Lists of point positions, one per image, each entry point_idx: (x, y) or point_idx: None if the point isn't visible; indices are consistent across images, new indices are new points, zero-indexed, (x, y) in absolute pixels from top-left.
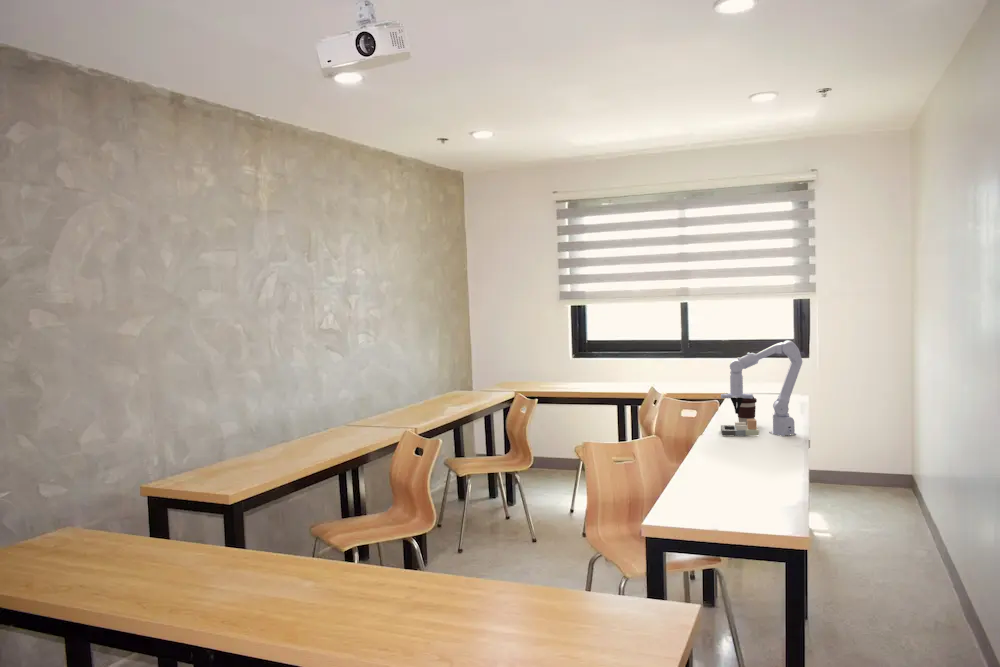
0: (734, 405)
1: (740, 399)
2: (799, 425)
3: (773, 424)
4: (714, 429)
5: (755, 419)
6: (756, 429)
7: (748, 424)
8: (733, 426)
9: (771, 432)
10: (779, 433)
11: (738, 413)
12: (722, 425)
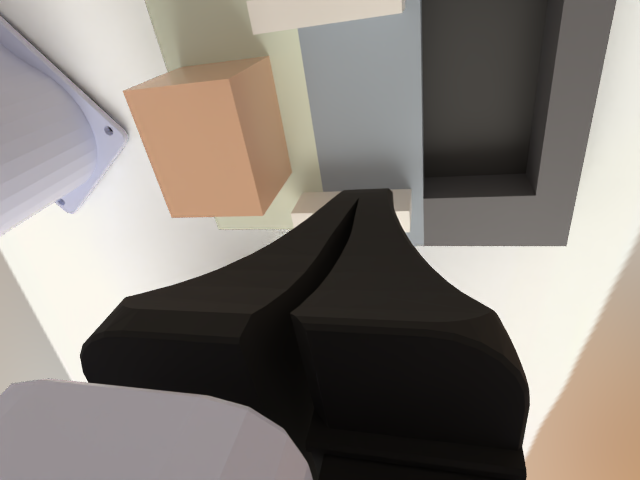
0: (400, 254)
1: (137, 351)
2: (61, 354)
3: (19, 132)
4: (615, 246)
5: (162, 184)
6: (179, 54)
7: (239, 69)
8: (429, 196)
9: (98, 116)
10: (15, 59)
11: (342, 191)
12: (550, 230)
